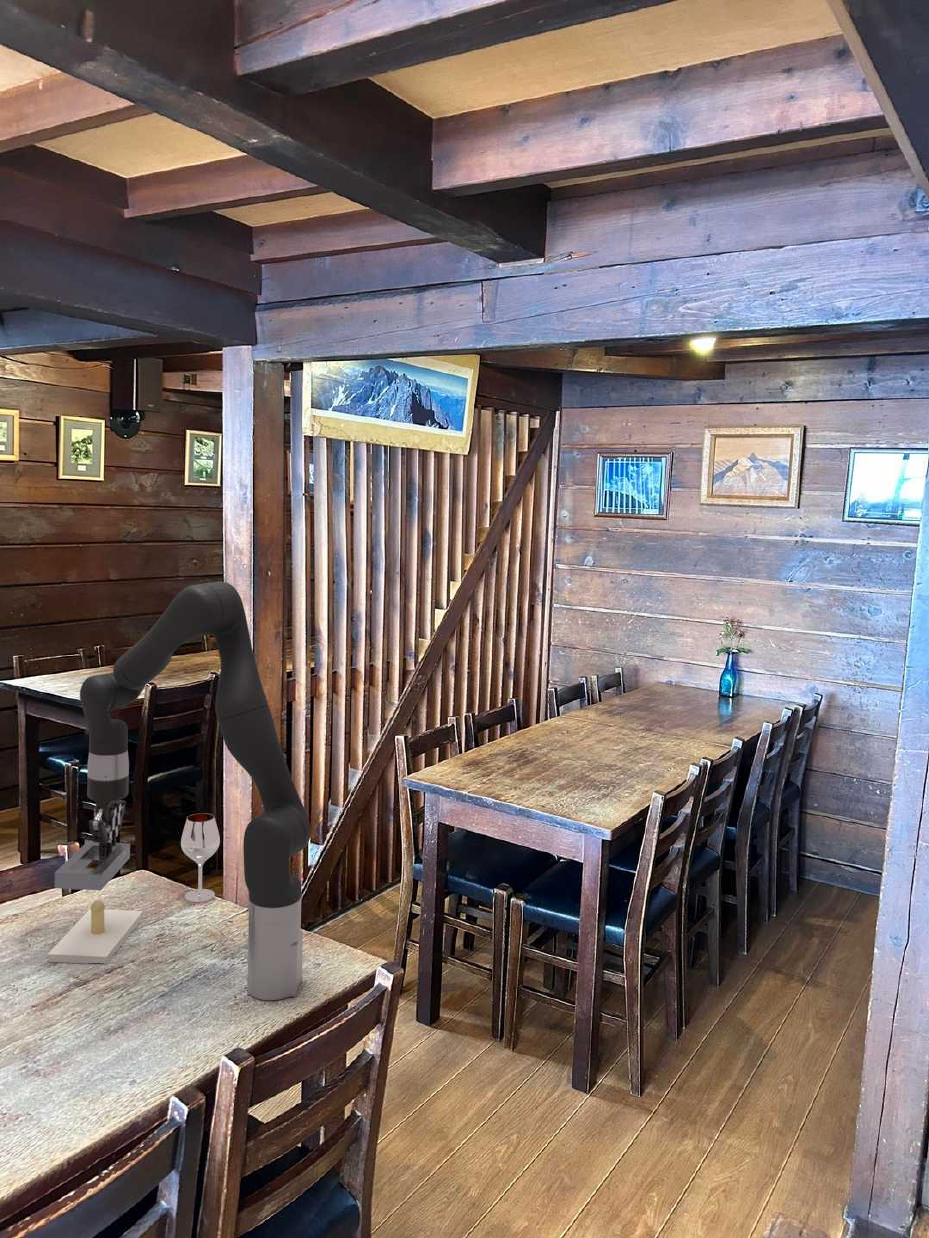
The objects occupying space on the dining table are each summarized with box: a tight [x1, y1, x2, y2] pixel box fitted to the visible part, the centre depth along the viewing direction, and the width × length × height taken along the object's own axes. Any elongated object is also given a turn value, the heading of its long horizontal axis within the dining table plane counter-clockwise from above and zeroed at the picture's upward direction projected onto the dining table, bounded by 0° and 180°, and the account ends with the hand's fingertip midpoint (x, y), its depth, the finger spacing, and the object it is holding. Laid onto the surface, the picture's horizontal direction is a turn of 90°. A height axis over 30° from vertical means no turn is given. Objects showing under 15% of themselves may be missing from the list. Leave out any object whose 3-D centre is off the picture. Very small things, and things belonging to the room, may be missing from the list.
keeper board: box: [47, 900, 144, 965], centre depth 176 cm, size 11×19×8 cm, turn 0°
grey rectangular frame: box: [54, 841, 131, 891], centre depth 171 cm, size 15×8×3 cm, turn 1°
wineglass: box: [180, 812, 221, 903], centre depth 197 cm, size 8×8×18 cm
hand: (107, 856), depth 178 cm, fingers closed on grey rectangular frame
